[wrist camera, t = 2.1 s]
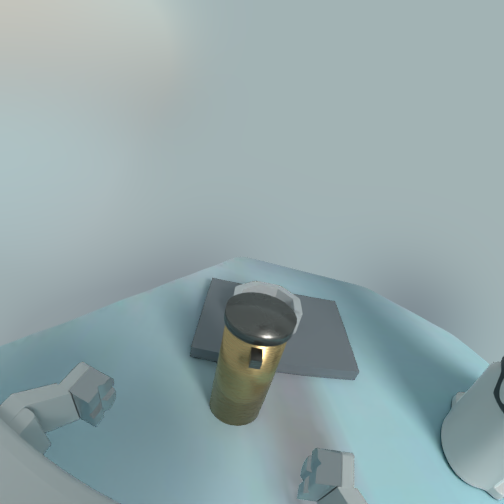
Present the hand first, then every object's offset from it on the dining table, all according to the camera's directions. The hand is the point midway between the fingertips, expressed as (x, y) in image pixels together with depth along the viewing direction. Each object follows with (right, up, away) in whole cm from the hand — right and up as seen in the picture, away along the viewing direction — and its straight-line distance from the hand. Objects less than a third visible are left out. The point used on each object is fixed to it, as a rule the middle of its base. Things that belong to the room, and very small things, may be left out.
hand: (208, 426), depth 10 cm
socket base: (+5, -4, +30) cm, 31 cm away
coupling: (0, -9, +17) cm, 19 cm away
